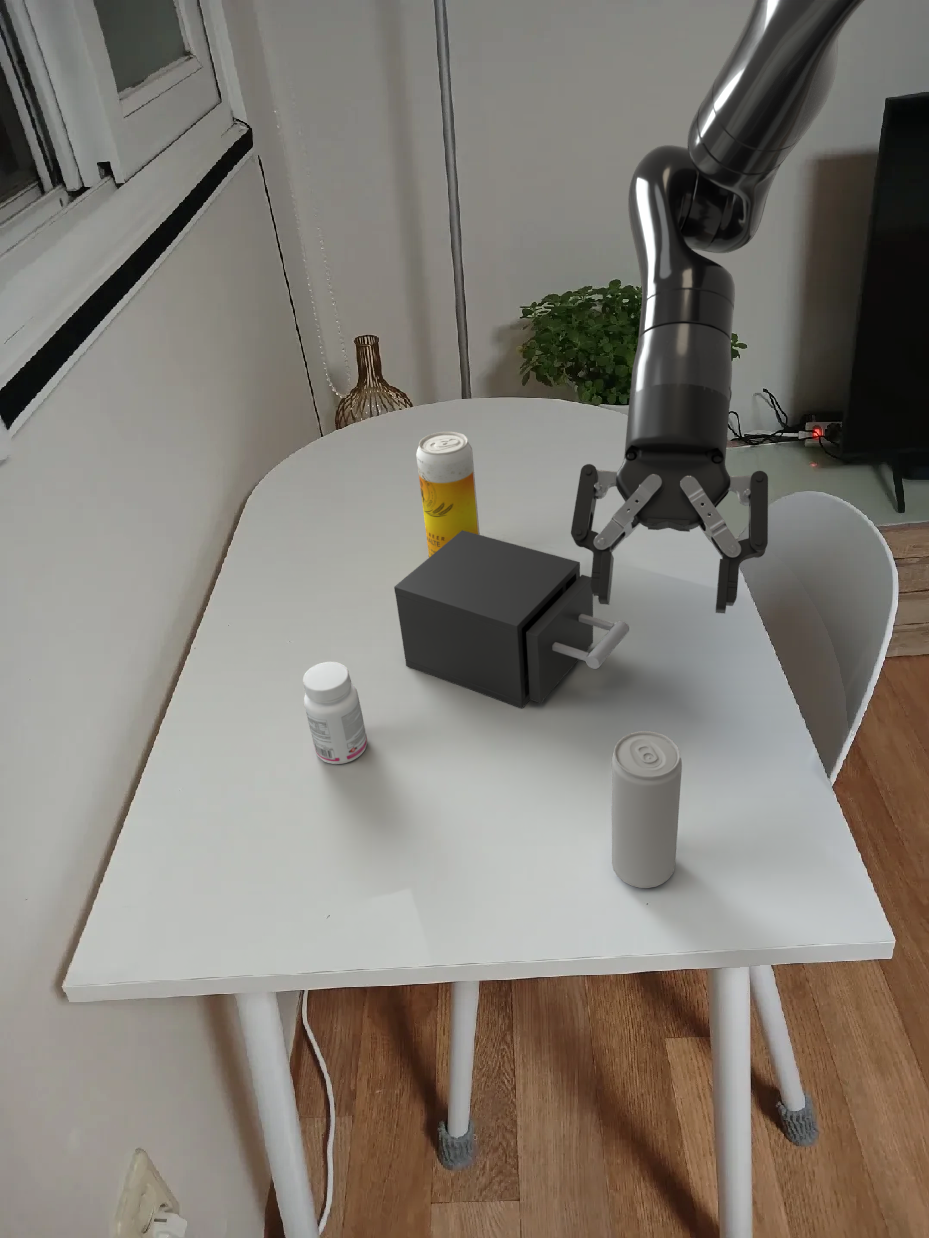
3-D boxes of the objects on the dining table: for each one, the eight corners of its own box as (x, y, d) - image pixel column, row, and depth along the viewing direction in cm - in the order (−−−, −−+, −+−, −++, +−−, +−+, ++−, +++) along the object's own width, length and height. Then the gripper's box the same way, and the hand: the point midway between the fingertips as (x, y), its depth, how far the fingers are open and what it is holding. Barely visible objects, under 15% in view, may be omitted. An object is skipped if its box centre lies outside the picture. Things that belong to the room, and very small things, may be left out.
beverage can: (625, 899, 71) (628, 785, 64) (601, 851, 74) (601, 738, 68) (685, 882, 71) (694, 767, 64) (658, 835, 75) (664, 722, 68)
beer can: (423, 553, 113) (408, 436, 104) (472, 541, 114) (461, 425, 105) (437, 579, 108) (423, 459, 99) (488, 567, 109) (478, 447, 100)
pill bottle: (363, 724, 89) (349, 653, 84) (372, 758, 85) (358, 686, 80) (312, 736, 88) (295, 665, 83) (319, 771, 84) (301, 698, 79)
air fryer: (581, 641, 96) (580, 561, 91) (522, 708, 89) (516, 626, 83) (469, 606, 103) (462, 529, 97) (405, 665, 96) (393, 586, 90)
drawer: (638, 657, 92) (640, 590, 88) (588, 720, 85) (587, 652, 81) (487, 609, 101) (482, 546, 96) (430, 663, 94) (422, 599, 89)
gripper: (581, 378, 71) (559, 591, 69) (781, 381, 68) (765, 605, 65) (591, 414, 78) (572, 608, 76) (772, 419, 75) (758, 622, 73)
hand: (661, 607), depth 71 cm, fingers open, 8 cm apart
